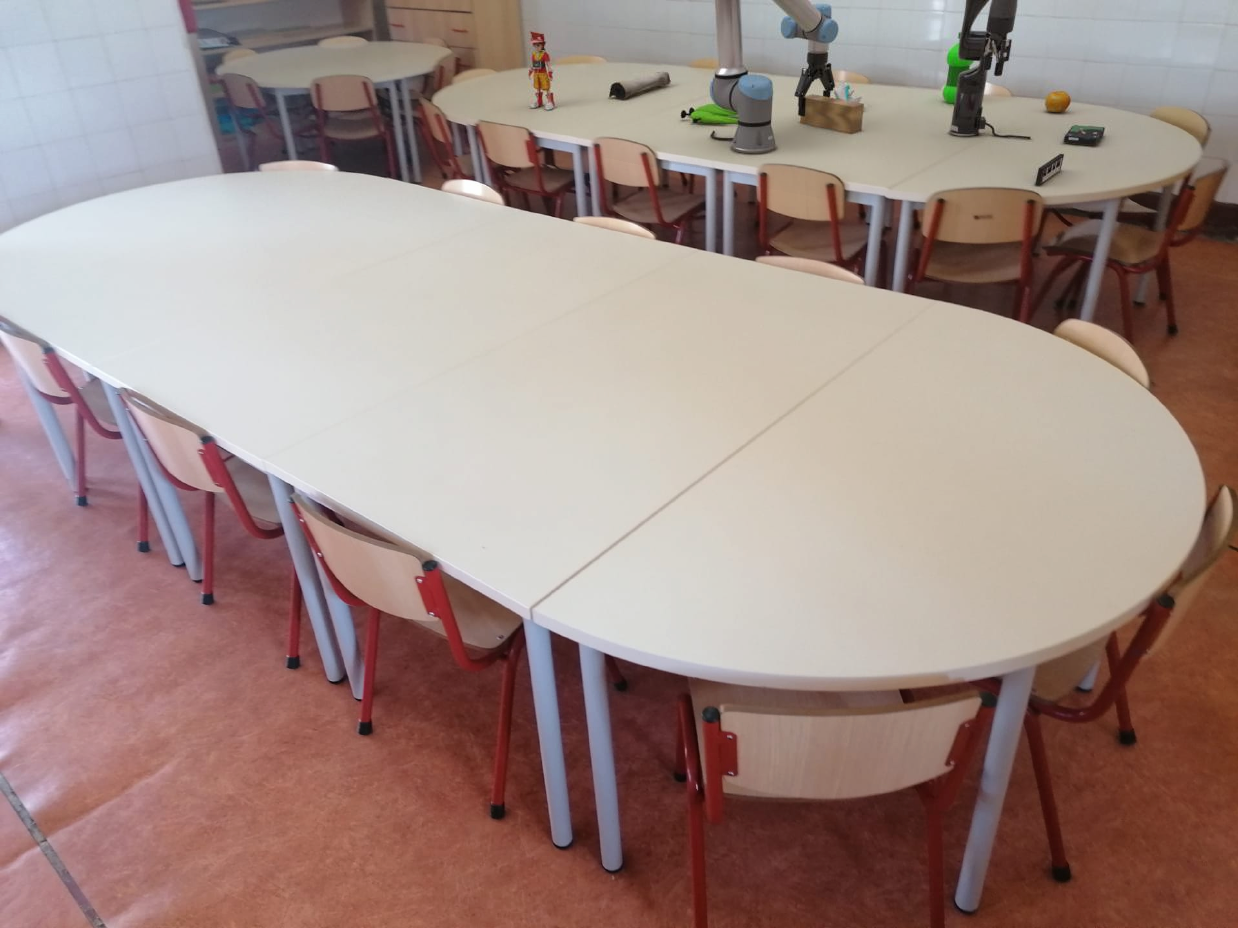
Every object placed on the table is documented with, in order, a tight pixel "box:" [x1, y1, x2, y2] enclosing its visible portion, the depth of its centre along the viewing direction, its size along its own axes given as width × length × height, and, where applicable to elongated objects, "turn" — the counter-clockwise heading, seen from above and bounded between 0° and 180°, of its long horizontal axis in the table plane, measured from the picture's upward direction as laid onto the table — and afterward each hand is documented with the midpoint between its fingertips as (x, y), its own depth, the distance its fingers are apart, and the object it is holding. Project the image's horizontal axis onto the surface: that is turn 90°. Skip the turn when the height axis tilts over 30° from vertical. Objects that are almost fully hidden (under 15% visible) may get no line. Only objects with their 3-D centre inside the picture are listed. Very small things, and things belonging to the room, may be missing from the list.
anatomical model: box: [833, 81, 867, 111], centre depth 353 cm, size 15×10×10 cm
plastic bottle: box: [942, 31, 974, 104], centre depth 348 cm, size 10×10×25 cm
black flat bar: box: [1035, 153, 1065, 186], centre depth 273 cm, size 18×1×5 cm, turn 138°
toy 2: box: [680, 103, 738, 124], centre depth 349 cm, size 28×5×30 cm
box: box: [799, 93, 865, 134], centre depth 333 cm, size 24×6×9 cm, turn 39°
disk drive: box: [1063, 124, 1106, 146], centre depth 304 cm, size 10×3×15 cm
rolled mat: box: [608, 71, 672, 101], centre depth 395 cm, size 30×9×10 cm
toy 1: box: [527, 31, 556, 111], centre depth 374 cm, size 12×9×30 cm
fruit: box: [1044, 90, 1072, 113], centre depth 334 cm, size 8×8×8 cm
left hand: (813, 112), depth 339 cm, fingers open, 13 cm apart
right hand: (992, 73), depth 274 cm, fingers open, 8 cm apart
